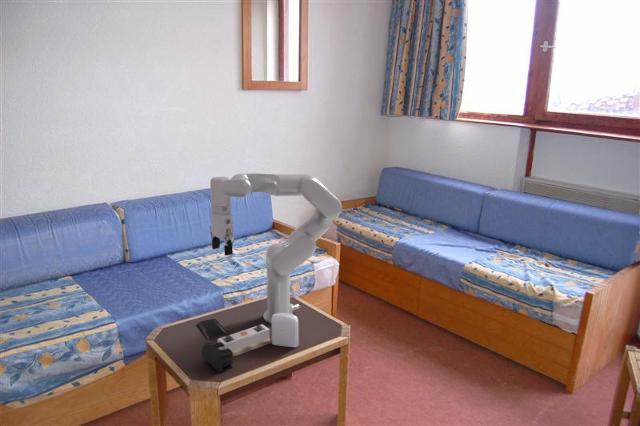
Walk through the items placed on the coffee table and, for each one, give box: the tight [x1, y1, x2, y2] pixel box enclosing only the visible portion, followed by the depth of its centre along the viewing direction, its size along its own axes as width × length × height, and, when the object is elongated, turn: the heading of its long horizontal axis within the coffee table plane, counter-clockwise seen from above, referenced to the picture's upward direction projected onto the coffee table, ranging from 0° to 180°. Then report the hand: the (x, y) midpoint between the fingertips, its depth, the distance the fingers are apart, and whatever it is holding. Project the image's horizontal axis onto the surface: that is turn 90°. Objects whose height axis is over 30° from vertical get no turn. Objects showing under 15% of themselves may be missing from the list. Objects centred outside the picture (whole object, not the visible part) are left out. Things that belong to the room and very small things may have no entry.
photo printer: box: [271, 313, 299, 348], centre depth 186 cm, size 10×4×12 cm, turn 76°
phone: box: [197, 318, 228, 340], centre depth 197 cm, size 8×1×15 cm
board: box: [226, 324, 272, 360], centre depth 184 cm, size 19×7×6 cm, turn 129°
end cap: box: [200, 342, 234, 373], centre depth 171 cm, size 10×7×7 cm
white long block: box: [217, 324, 271, 352], centre depth 184 cm, size 19×5×4 cm, turn 130°
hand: (222, 251), depth 196 cm, fingers open, 9 cm apart
